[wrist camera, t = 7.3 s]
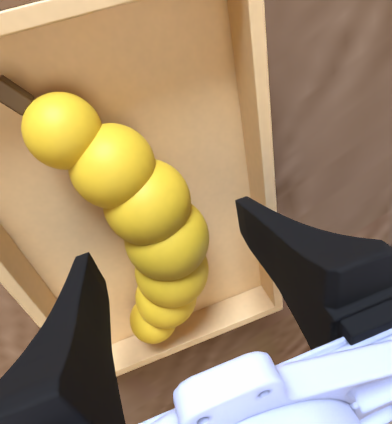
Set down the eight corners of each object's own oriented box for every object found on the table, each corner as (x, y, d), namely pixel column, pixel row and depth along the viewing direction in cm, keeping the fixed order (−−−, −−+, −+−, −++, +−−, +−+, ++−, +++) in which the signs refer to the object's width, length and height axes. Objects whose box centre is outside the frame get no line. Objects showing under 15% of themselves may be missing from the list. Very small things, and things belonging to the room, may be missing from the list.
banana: (217, 291, 22) (240, 343, 19) (131, 325, 21) (141, 384, 18) (150, 29, 12) (176, 43, 9) (-10, 74, 12) (-43, 105, 8)
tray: (266, 283, 24) (283, 309, 22) (90, 352, 22) (91, 387, 20) (232, -48, 12) (261, -56, 10) (-146, 48, 10) (-196, 61, 9)
